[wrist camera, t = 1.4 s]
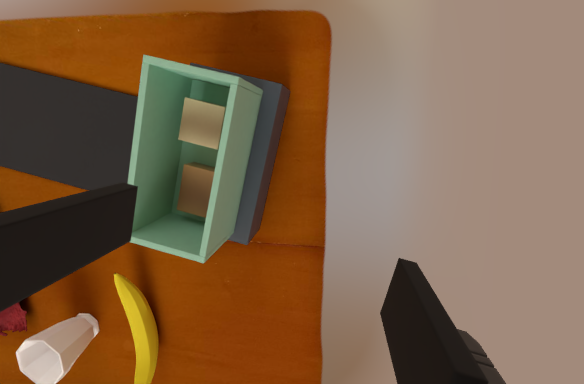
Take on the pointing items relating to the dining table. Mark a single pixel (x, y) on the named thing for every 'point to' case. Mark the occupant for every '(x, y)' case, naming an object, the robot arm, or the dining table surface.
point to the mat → (65, 129)
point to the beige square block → (202, 123)
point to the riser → (259, 155)
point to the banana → (139, 328)
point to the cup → (56, 349)
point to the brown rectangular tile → (195, 188)
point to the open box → (188, 157)
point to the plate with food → (13, 319)
